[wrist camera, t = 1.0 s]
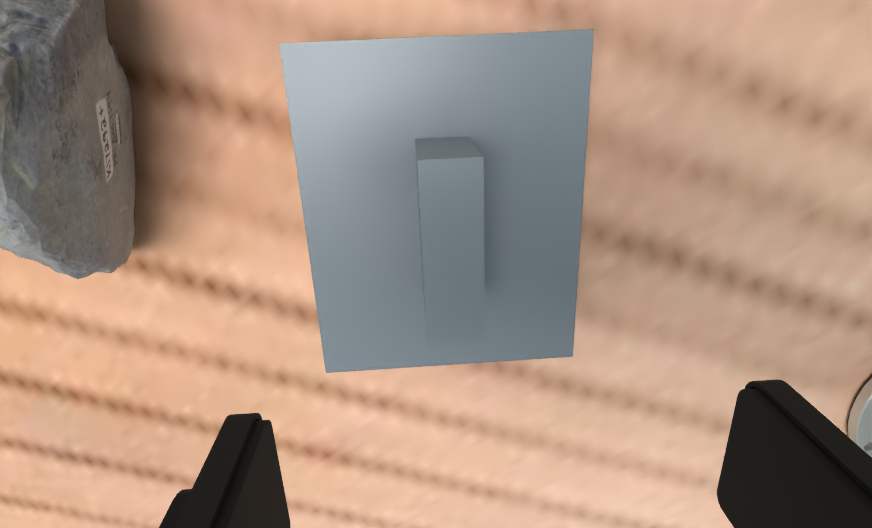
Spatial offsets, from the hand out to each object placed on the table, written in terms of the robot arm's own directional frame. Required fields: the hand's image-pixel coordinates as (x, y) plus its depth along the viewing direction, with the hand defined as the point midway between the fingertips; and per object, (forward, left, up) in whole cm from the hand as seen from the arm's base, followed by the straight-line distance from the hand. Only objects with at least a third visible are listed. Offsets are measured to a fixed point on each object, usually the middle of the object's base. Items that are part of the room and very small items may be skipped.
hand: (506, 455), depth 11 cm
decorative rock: (+5, +19, -25) cm, 32 cm away
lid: (0, 0, -18) cm, 18 cm away
